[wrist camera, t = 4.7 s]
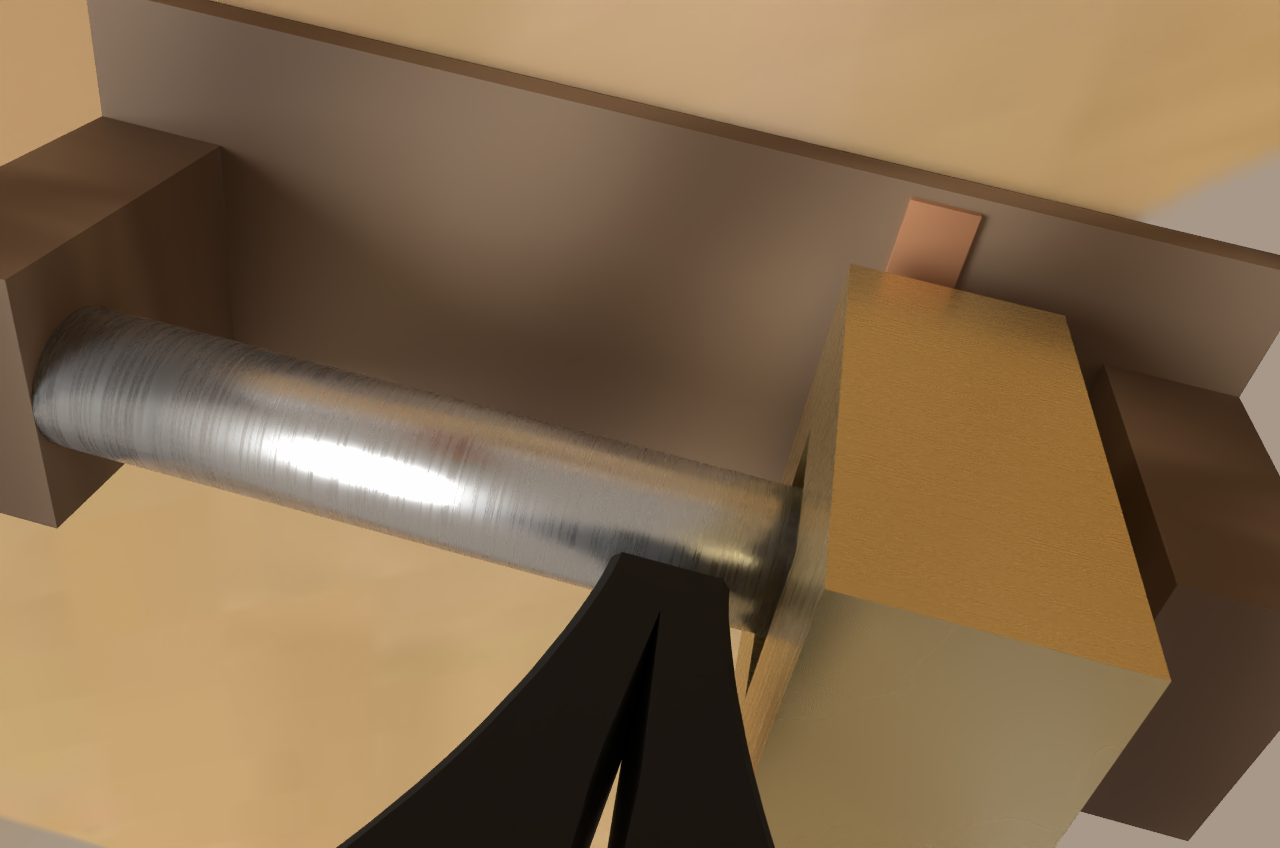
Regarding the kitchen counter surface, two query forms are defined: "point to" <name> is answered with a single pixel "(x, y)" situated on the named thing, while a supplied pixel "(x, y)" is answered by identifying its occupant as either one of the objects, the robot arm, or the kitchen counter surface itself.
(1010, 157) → the kitchen counter surface
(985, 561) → the brushed brass square block
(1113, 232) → the slider rail
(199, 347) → the pipe
